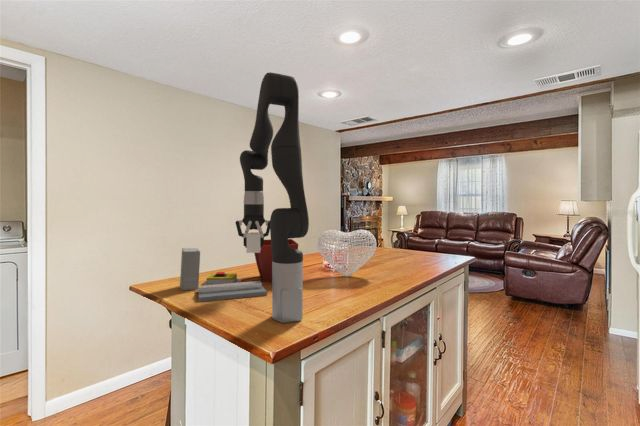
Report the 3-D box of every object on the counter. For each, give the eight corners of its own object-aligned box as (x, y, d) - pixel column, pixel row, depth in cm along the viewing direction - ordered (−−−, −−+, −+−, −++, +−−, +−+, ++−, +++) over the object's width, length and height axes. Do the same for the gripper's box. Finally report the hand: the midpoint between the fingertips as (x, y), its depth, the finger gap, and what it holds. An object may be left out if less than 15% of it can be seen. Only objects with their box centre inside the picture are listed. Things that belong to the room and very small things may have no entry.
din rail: (261, 288, 126) (261, 282, 126) (201, 293, 118) (201, 287, 118) (259, 285, 130) (259, 280, 130) (201, 290, 122) (201, 285, 122)
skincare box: (179, 286, 134) (179, 248, 133) (198, 284, 137) (198, 247, 137) (181, 291, 126) (181, 250, 126) (200, 289, 130) (200, 249, 129)
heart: (319, 281, 144) (320, 231, 144) (315, 273, 160) (315, 228, 159) (380, 279, 148) (381, 231, 147) (370, 272, 164) (371, 228, 163)
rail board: (267, 295, 122) (267, 291, 122) (198, 301, 113) (198, 297, 113) (259, 286, 135) (259, 282, 135) (198, 291, 126) (198, 287, 126)
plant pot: (254, 284, 138) (254, 244, 137) (252, 274, 156) (252, 239, 156) (298, 282, 143) (298, 243, 142) (291, 272, 161) (291, 238, 161)
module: (247, 250, 129) (248, 231, 128) (260, 249, 129) (260, 231, 129) (246, 252, 122) (246, 233, 122) (260, 252, 123) (260, 233, 122)
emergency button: (208, 270, 146) (242, 270, 147) (208, 280, 146) (242, 280, 147) (202, 275, 137) (238, 275, 138) (202, 285, 137) (238, 285, 138)
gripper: (272, 203, 130) (272, 245, 130) (235, 203, 128) (235, 246, 128) (272, 203, 122) (272, 248, 123) (233, 203, 120) (233, 248, 121)
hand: (253, 247), depth 126 cm, fingers closed on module, 5 cm apart
